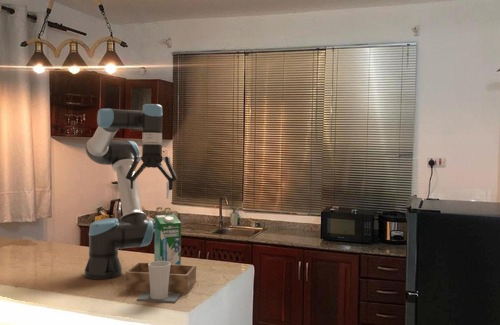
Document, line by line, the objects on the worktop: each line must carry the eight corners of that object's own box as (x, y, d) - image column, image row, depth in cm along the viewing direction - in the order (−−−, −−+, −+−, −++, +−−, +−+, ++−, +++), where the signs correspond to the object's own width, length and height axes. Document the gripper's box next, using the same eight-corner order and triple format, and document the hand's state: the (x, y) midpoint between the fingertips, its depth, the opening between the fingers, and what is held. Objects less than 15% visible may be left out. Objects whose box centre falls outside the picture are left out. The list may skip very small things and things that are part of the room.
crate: (125, 290, 168) (125, 272, 168) (138, 279, 182) (139, 262, 182) (187, 293, 166) (187, 275, 166) (195, 282, 180) (196, 265, 179)
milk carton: (159, 277, 185) (160, 218, 184) (154, 272, 193) (154, 215, 192) (180, 275, 189) (181, 217, 188) (174, 269, 197) (174, 214, 196)
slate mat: (136, 300, 158) (136, 299, 158) (144, 293, 166) (144, 291, 165) (174, 302, 156) (174, 301, 156) (180, 295, 164) (180, 293, 164)
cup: (149, 292, 164) (149, 260, 164) (171, 292, 165) (171, 260, 165) (146, 300, 156) (146, 266, 156) (169, 300, 157) (169, 266, 157)
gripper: (117, 143, 171) (117, 197, 172) (180, 144, 168) (180, 200, 169) (125, 143, 178) (124, 195, 179) (185, 144, 176) (184, 197, 177)
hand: (151, 197), depth 174 cm, fingers open, 13 cm apart
